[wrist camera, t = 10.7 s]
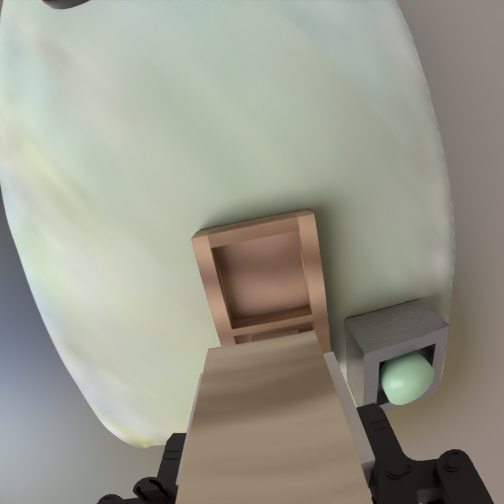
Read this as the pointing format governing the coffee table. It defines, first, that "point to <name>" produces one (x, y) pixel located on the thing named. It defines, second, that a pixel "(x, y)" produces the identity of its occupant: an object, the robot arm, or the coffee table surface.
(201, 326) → the coffee table surface
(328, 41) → the coffee table surface
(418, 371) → the button
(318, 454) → the billet
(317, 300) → the wooden divided tray
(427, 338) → the grey square bin
